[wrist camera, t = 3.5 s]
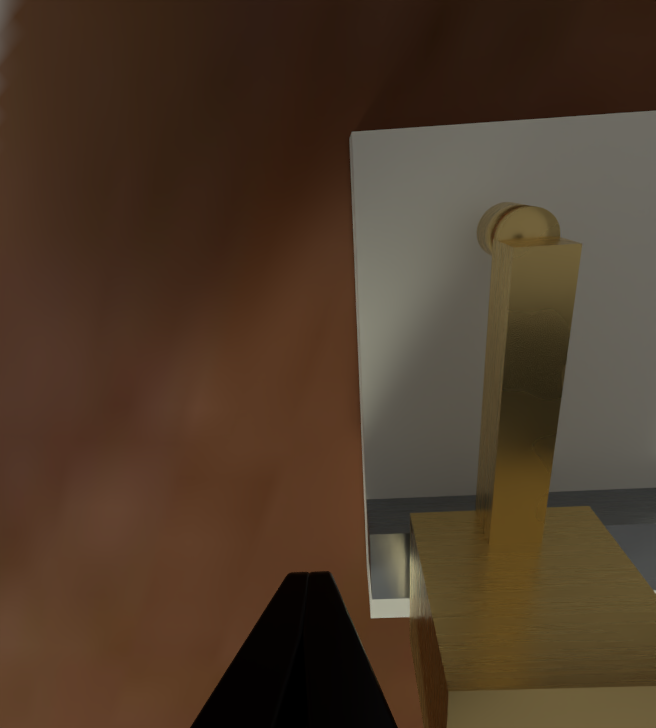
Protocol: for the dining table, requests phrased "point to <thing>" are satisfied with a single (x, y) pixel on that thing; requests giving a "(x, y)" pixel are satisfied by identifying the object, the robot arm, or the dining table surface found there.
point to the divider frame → (392, 516)
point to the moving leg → (527, 534)
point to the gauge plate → (471, 298)
